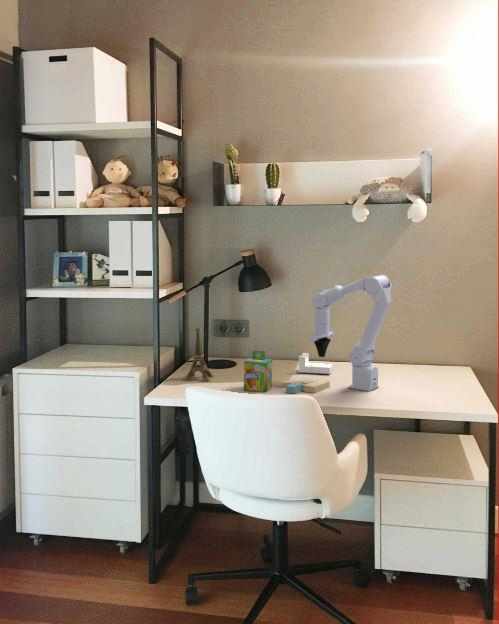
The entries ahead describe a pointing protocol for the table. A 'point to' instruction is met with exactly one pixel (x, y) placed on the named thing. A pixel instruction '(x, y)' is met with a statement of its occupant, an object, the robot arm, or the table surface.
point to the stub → (294, 388)
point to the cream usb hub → (316, 386)
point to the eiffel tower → (202, 365)
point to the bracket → (313, 366)
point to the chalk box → (258, 373)
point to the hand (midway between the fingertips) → (321, 356)
